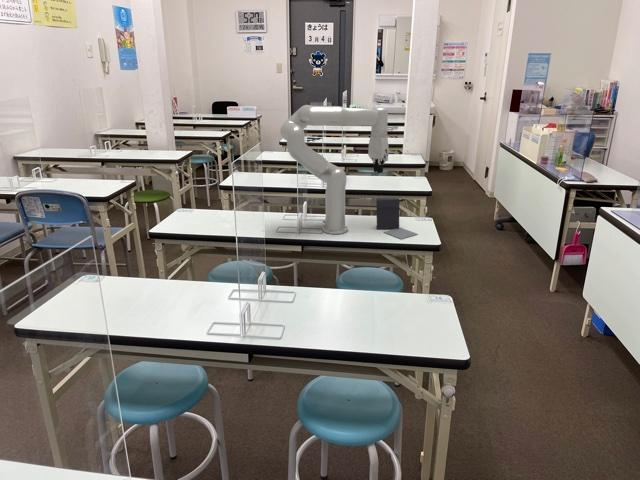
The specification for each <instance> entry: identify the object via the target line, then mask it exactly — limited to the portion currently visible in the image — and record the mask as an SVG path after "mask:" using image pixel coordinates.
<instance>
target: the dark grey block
mask: <svg viewBox="0 0 640 480" xmlns="http://www.w3.org/2000/svg"><path fill="white" fill-rule="evenodd" d="M375 200H376V201H375V202H376V229H377V230H393V229H399V228H400V198H399V197H380V198H379V197H377V198H376V199H375Z"/></svg>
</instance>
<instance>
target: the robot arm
mask: <svg viewBox="0 0 640 480" xmlns="http://www.w3.org/2000/svg"><path fill="white" fill-rule="evenodd" d="M388 113H389V109H388V108H387V107H384V106H376V107H365V106H364V107H358V108H352V107H351V108H350V107H345V106H339V105H337V106H336V105H328V106H327V105H310V104H304V105H302V106H301V107H300V108H298V109H297V110H296V111H295V112H294V113H292V115H291V116H290V117H288V118H287V119H286V121H284V123H282V125H281V127H280V130H279V133H280V136H281V138H282V139H283V140H285V141H286V148H287V151H288V154H289V156H290V157H291V158H292V159H293V160H294V161H296V162H297V163H298V164H300V165H301V166H302V167H303V168H304V169H305V170H306V171H307V172H308V173H310V174H311V175H313V176H314V177H316V178H317V179H319V180H321V182H324V183H325V184H326V187H325V198H324V200H325V201H324V202H325V204H324V205H325V219H323V220H322V223H324V226H323V227H322V231H323V233H326V234H330V235H340V234H341V235H342V234H345V233H347V232H349V226H347V225H346V189H347V188H346V185H347V181H348V180H347V179H348V177H347V173H346V172H345V170H344V169H342V168H341V167H339V166H337V165H335V164H333V163H332V162H330V161H329V160H327V159H326V157H324V155H322V154H320V153H318V152H317V151H316V150H313V149H312V148H311V147H310V146H309V145H308V144H306V142H305V131H304V129H305V128H306V127H307V126H308V125H309V126H341V127H343V126H348V127H349V126H351V127H352V126H353V127H357V126H358V127H364V126H365V127H369V126H371V128H370V129H371V131H370V137H369V142H368V149H367V150H368V155H367V156H368V157H369V159H371V161H372V164H373V172H374V173H377V174H381V173H384V165H385V164H386V162H388V161H389V139H388V119H389V117H388V116H389V115H388Z"/></svg>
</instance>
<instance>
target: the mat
mask: <svg viewBox="0 0 640 480" xmlns="http://www.w3.org/2000/svg"><path fill="white" fill-rule="evenodd" d="M383 234H385V235H388V236H390V237H393V238H396V239H398V240H401V241H402V240H406V239H407V238H411V237H414V236H418V235H419V233H416V232H414V231H411V230H408V229H406V228H403V227H399V229H389V230H387V231H386V230H385V231H383Z"/></svg>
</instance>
